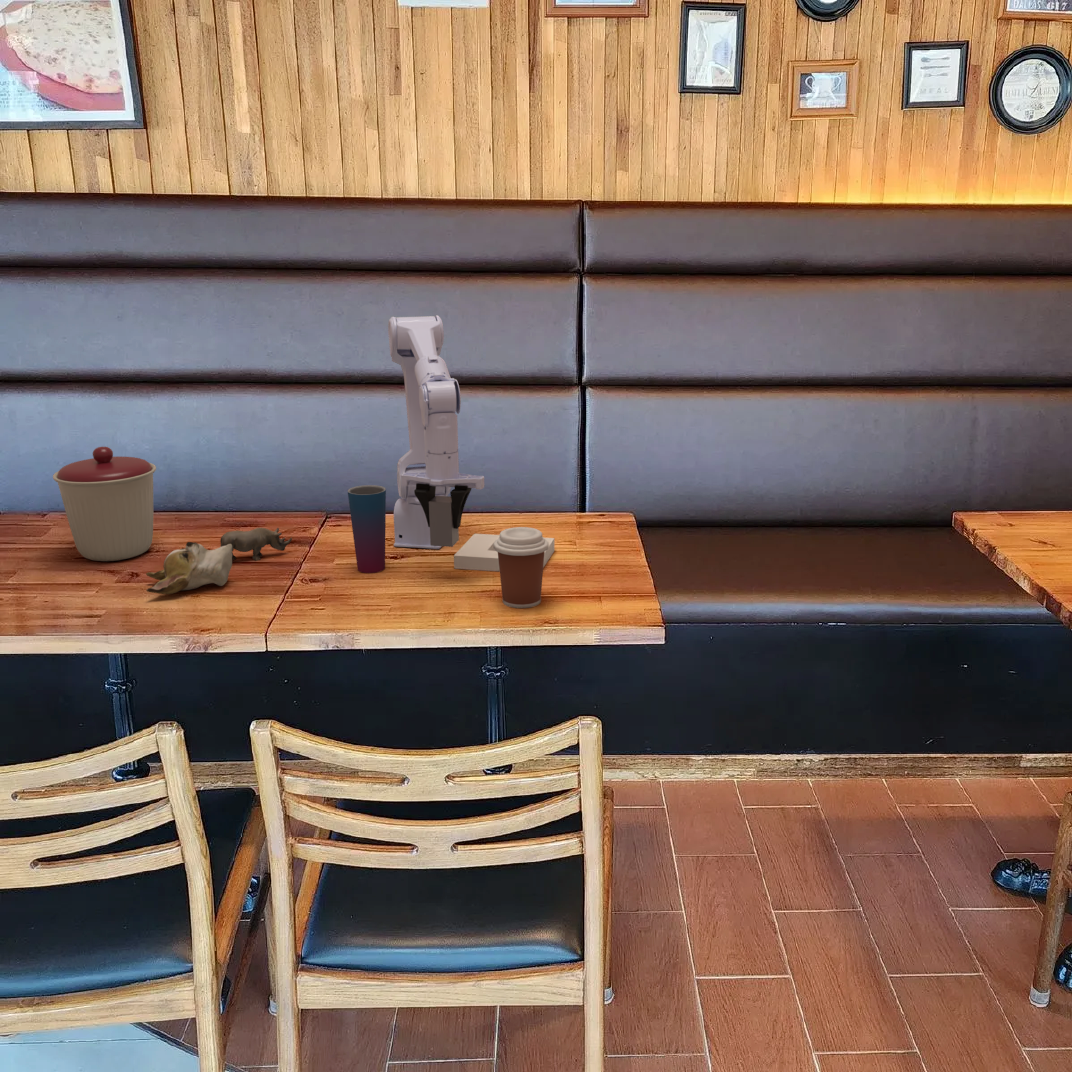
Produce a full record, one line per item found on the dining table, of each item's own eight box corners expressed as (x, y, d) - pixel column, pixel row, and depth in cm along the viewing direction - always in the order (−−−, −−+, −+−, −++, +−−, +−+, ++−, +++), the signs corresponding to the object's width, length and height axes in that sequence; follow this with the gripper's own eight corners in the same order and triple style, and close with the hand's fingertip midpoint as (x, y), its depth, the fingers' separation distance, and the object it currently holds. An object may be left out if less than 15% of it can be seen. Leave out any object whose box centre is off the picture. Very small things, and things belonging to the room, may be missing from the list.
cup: (397, 565, 187) (393, 487, 183) (376, 576, 181) (372, 496, 177) (366, 560, 190) (361, 483, 185) (345, 571, 184) (339, 492, 180)
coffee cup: (509, 615, 163) (508, 544, 159) (485, 597, 171) (484, 529, 167) (558, 605, 167) (558, 536, 164) (533, 588, 175) (532, 522, 171)
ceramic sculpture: (232, 543, 172) (139, 559, 167) (240, 590, 174) (149, 607, 170) (228, 527, 181) (140, 541, 177) (235, 572, 184) (149, 588, 179)
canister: (43, 562, 191) (26, 453, 184) (115, 535, 207) (101, 434, 200) (118, 573, 184) (102, 460, 178) (185, 545, 200) (173, 441, 194)
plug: (430, 545, 177) (428, 501, 175) (437, 538, 181) (435, 495, 179) (452, 546, 176) (450, 502, 174) (458, 540, 180) (457, 496, 178)
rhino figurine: (295, 556, 193) (292, 526, 191) (221, 566, 188) (217, 535, 186) (291, 550, 197) (289, 521, 195) (218, 559, 192) (215, 529, 190)
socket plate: (454, 568, 185) (453, 555, 185) (474, 545, 198) (474, 533, 198) (539, 574, 182) (539, 560, 181) (554, 550, 195) (554, 538, 194)
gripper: (393, 454, 172) (397, 530, 176) (476, 457, 169) (477, 535, 173) (407, 445, 178) (410, 519, 182) (486, 448, 175) (488, 523, 179)
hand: (444, 526), depth 178 cm, fingers closed on plug, 4 cm apart
